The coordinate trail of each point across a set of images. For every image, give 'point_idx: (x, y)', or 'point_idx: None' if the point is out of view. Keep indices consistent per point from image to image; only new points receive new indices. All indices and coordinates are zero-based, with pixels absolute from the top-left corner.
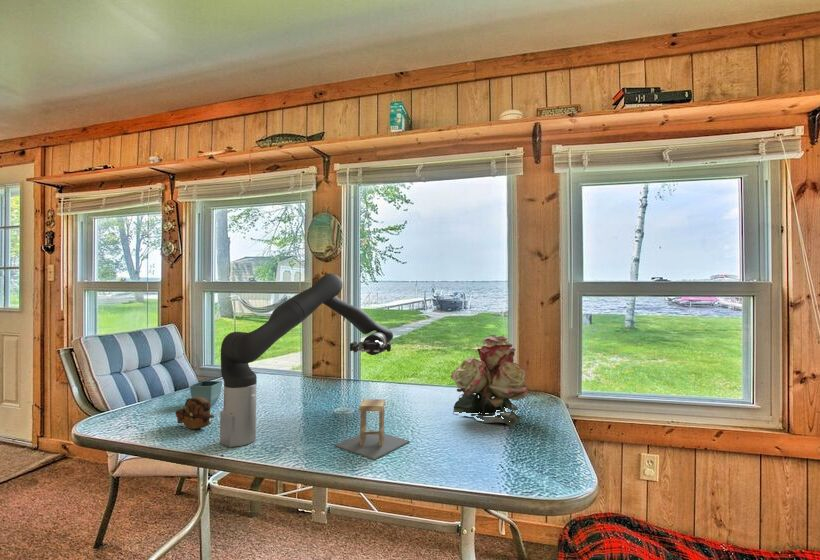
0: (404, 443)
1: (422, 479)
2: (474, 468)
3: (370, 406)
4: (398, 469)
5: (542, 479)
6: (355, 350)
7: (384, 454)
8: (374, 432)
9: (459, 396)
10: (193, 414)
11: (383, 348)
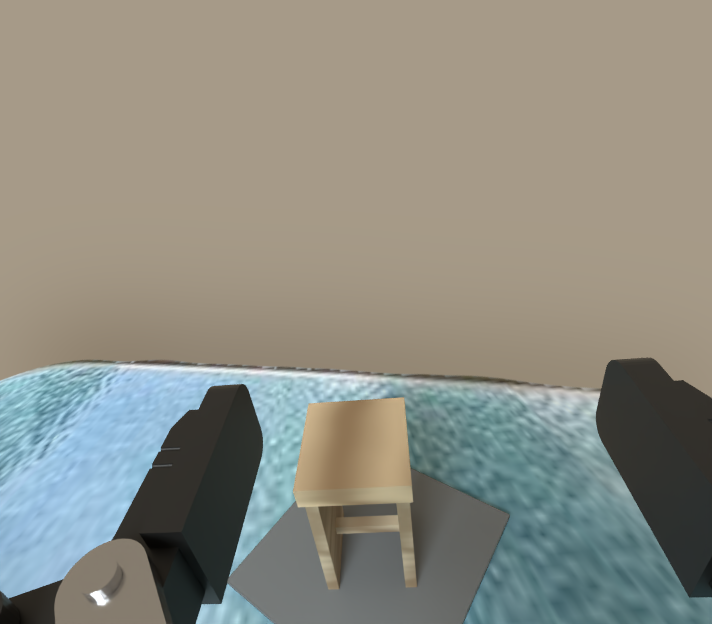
0: (251, 552)
1: (246, 384)
2: (115, 433)
3: (357, 401)
4: (290, 410)
5: (14, 410)
6: (605, 405)
7: None
8: (359, 518)
9: None
10: None
11: (181, 438)
